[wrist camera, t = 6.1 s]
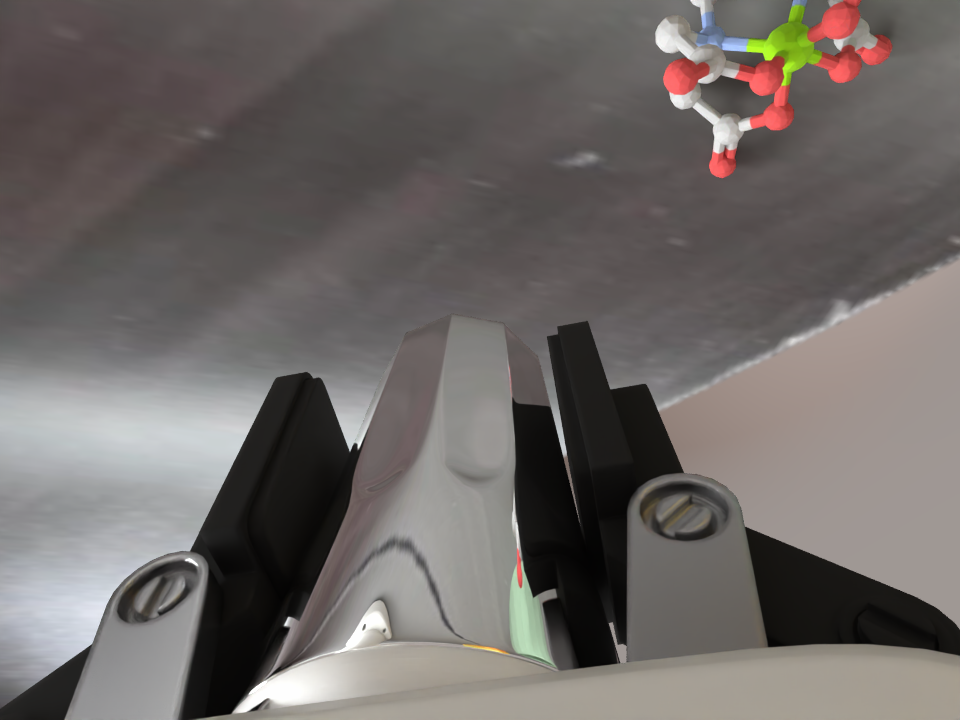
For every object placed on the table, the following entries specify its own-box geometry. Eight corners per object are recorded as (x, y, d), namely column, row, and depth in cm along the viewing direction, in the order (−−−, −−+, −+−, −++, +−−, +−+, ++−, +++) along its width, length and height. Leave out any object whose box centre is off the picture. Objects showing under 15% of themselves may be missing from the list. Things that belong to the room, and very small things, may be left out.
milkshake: (436, 201, 12) (276, 827, 3) (619, 388, 14) (821, 1088, 5) (277, 351, 14) (-104, 1026, 5) (461, 498, 15) (417, 1170, 7)
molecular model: (603, 34, 24) (647, 49, 18) (802, -141, 22) (938, -198, 15) (706, 185, 27) (778, 246, 20) (895, 45, 25) (1044, 63, 18)
